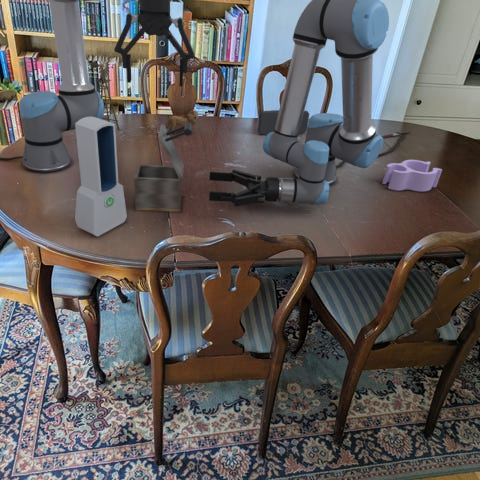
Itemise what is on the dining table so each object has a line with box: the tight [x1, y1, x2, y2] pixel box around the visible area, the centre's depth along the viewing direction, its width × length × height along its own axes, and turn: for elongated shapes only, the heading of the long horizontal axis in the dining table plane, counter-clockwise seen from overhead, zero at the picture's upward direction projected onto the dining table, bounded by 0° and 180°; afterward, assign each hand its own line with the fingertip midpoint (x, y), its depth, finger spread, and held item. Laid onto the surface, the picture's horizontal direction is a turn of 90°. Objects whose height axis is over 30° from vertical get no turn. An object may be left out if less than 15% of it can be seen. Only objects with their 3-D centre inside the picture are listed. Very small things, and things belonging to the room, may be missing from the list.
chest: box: [133, 163, 183, 213], centre depth 141 cm, size 13×10×10 cm
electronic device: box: [74, 116, 128, 238], centre depth 122 cm, size 12×8×30 cm, turn 148°
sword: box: [380, 131, 411, 139], centre depth 215 cm, size 31×3×1 cm, turn 126°
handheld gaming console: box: [257, 109, 310, 136], centre depth 204 cm, size 23×3×10 cm, turn 108°
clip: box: [381, 159, 443, 192], centre depth 171 cm, size 20×12×7 cm, turn 109°
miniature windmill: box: [90, 53, 120, 130], centre depth 181 cm, size 9×8×30 cm
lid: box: [157, 122, 193, 180], centre depth 134 cm, size 14×10×9 cm
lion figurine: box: [165, 109, 199, 134], centre depth 194 cm, size 15×5×9 cm, turn 110°
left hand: (155, 83), depth 124 cm, fingers open, 13 cm apart
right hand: (209, 185), depth 142 cm, fingers open, 13 cm apart
